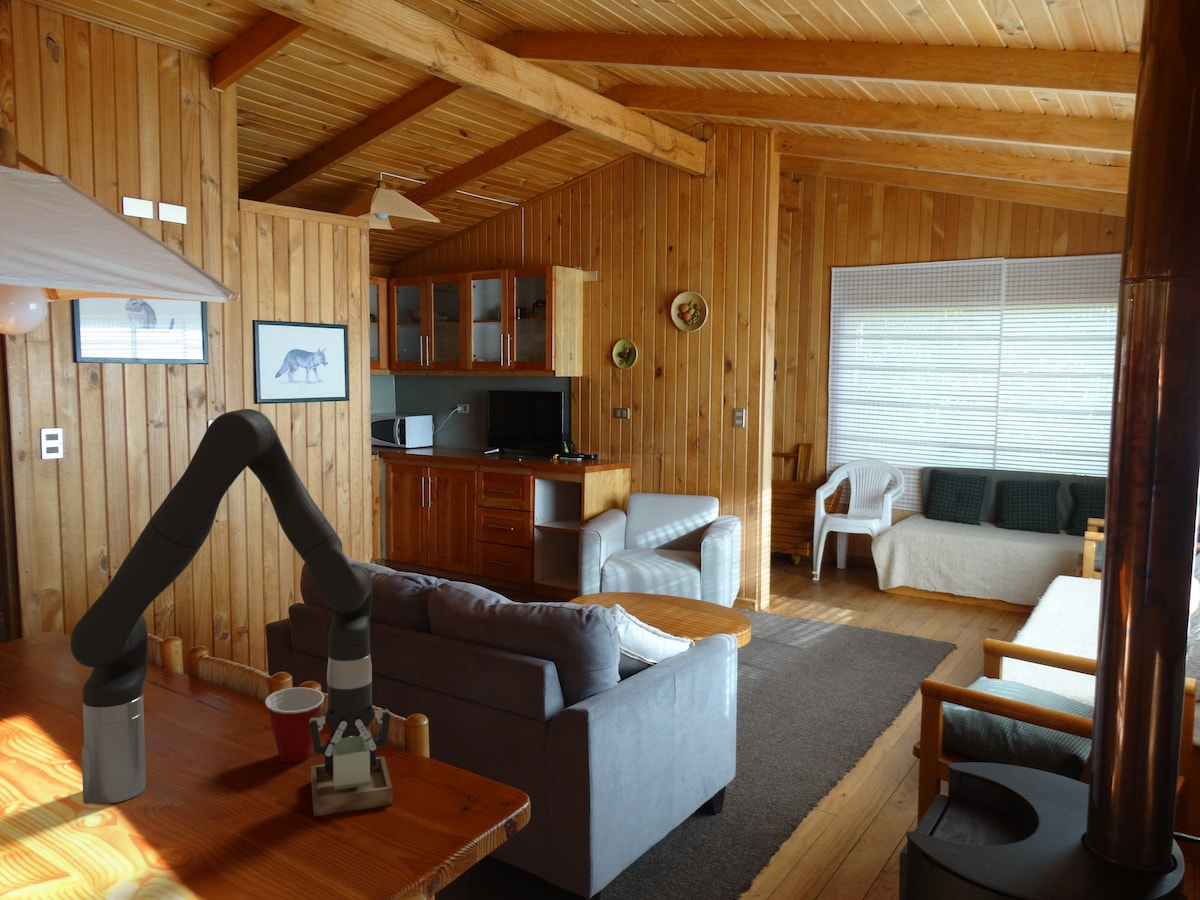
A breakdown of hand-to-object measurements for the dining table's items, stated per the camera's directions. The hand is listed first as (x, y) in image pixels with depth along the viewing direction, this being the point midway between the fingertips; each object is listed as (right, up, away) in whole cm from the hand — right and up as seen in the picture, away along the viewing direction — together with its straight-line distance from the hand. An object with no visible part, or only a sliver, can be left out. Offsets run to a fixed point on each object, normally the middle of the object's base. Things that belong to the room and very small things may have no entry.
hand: (350, 770), depth 154 cm
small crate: (0, -1, 0) cm, 1 cm away
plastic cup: (-15, -3, +14) cm, 21 cm away
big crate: (0, -4, 0) cm, 4 cm away
